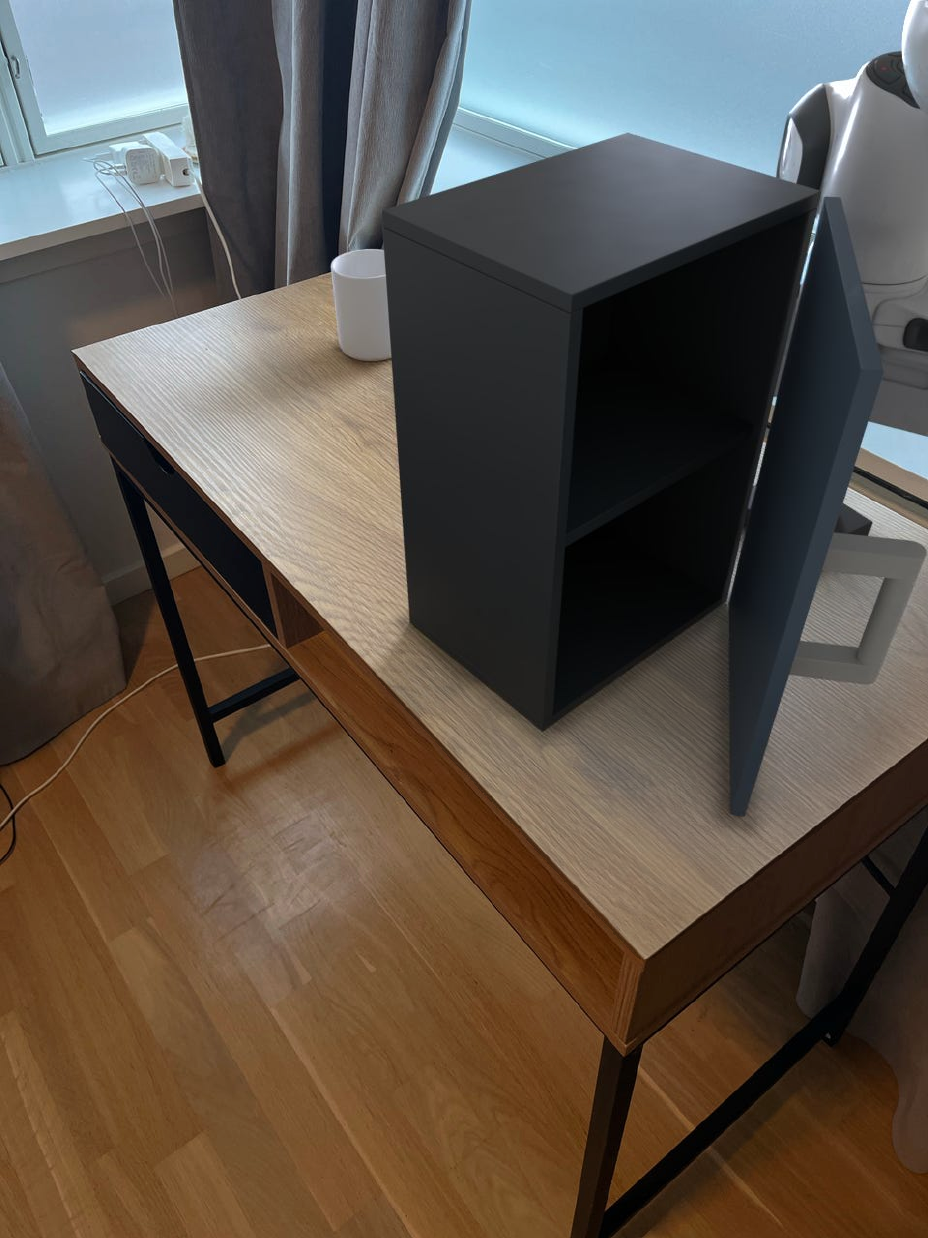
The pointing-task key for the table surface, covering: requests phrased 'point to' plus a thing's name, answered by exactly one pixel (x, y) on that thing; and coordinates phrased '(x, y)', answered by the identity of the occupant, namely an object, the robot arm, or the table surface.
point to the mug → (362, 304)
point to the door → (810, 510)
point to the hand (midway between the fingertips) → (815, 449)
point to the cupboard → (584, 403)
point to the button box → (839, 520)
